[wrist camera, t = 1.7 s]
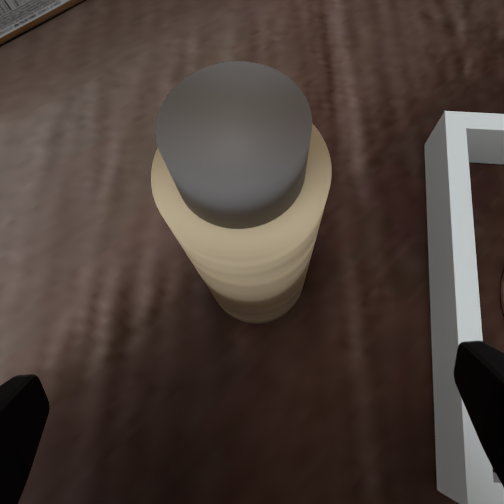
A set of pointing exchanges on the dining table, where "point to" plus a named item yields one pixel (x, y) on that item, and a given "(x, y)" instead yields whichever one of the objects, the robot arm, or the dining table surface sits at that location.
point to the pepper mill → (242, 184)
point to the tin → (28, 14)
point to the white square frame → (457, 295)
